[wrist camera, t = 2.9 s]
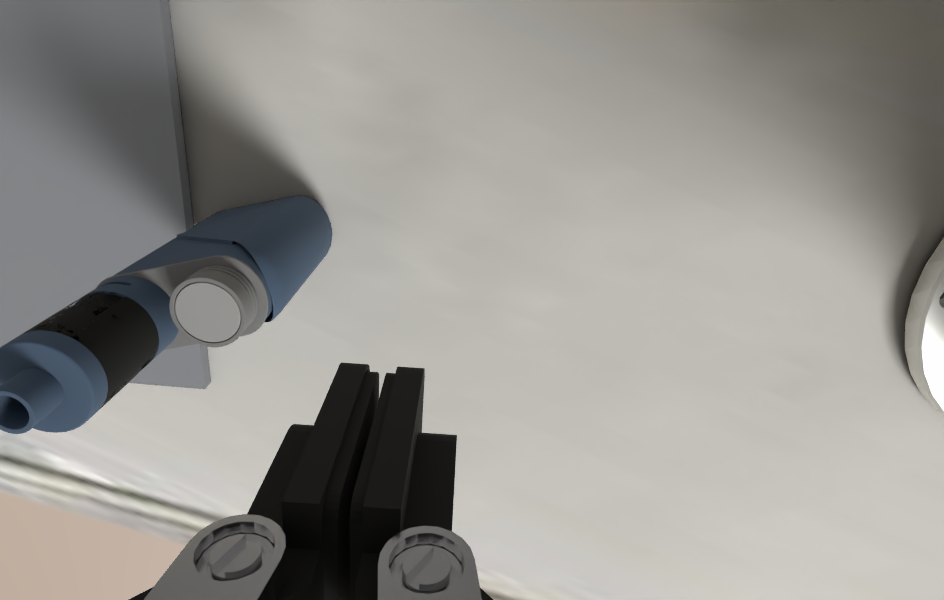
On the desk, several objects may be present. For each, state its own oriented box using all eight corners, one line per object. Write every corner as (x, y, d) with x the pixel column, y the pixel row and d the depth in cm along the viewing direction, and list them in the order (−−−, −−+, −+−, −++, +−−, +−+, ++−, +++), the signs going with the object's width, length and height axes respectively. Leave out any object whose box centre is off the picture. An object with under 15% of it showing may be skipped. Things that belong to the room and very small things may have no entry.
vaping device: (195, 212, 23) (-81, 368, 12) (326, 185, 22) (163, 323, 11) (219, 274, 24) (-15, 471, 13) (345, 250, 23) (212, 435, 12)
